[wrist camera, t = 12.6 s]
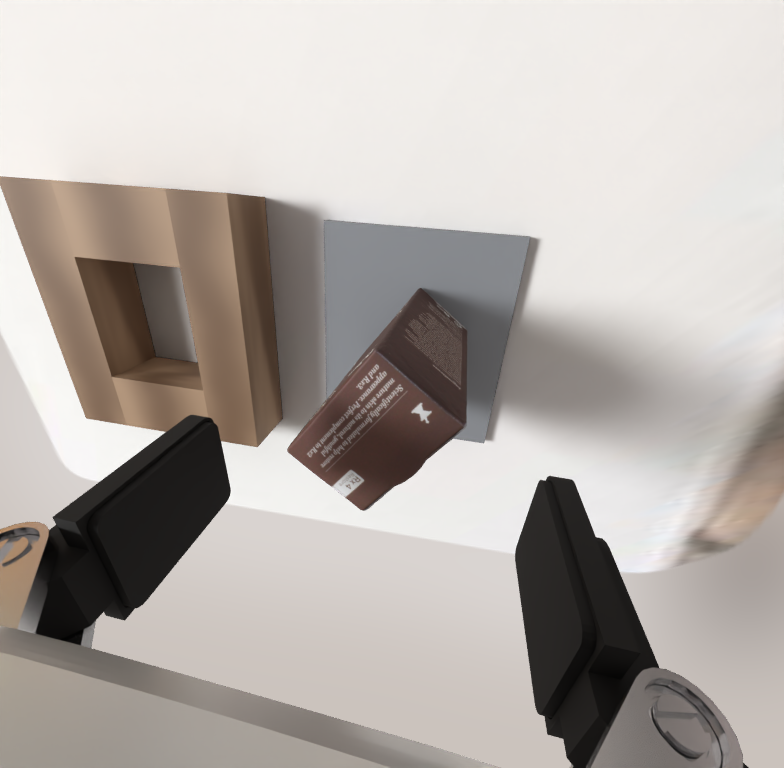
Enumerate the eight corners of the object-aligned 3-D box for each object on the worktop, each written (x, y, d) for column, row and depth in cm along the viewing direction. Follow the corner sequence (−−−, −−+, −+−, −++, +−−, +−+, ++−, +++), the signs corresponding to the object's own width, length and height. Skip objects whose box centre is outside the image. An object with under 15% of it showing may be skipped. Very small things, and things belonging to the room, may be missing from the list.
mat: (528, 236, 20) (530, 237, 20) (483, 438, 26) (484, 443, 26) (327, 220, 22) (324, 220, 21) (329, 415, 28) (326, 419, 27)
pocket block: (264, 197, 22) (226, 193, 18) (282, 418, 29) (257, 447, 25) (67, 182, 23) (-4, 176, 20) (129, 394, 30) (86, 418, 27)
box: (416, 282, 22) (375, 345, 11) (469, 330, 22) (479, 434, 12) (359, 349, 24) (279, 454, 13) (408, 390, 25) (370, 521, 14)
